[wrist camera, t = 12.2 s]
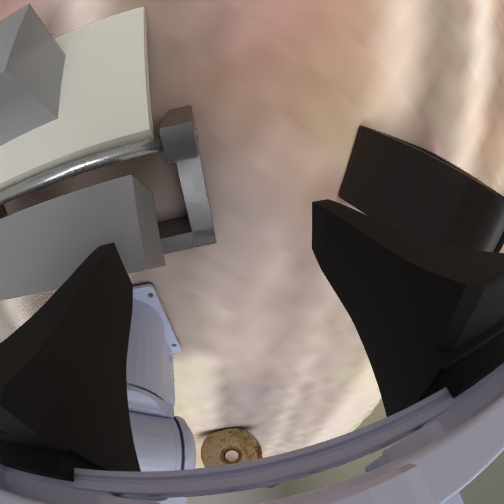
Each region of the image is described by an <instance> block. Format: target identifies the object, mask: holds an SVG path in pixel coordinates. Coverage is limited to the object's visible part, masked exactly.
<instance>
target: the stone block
mask: <svg viewBox="0 0 504 504" xmlns="http://www.w3.org/2000/svg"><path fill="white" fill-rule="evenodd" d="M65 57H66V55H65V54H64V52H63V51H62V49H61V48H60V47H59V45H58V44H57V42H56V41H55V40H54V38H53V37H52V35H51V34H50V33H49V31H48V30H47V28H46V27H45V25H44V24H43V23H42V21H41V20H40V18H39V17H38V15H37V14H36V12H35V11H34V9H33V8H32V6H31V5H30V4H28V5H26V6H25V7H23V8H21V9H20V10H18V11H16V12H15V13H13V14H11V15H10V16H8V17H7V18H5V19H4V20H2V21H0V146H2V145H3V144H5V143H7V142H9V141H11V140H13V139H15V138H17V137H19V136H21V135H23V134H25V133H27V132H29V131H31V130H33V129H35V128H37V127H40V126H42V125H44V124H46V123H49V122H51V121H53V120H56V119H58V112H59V101H60V91H61V83H62V76H63V69H64V63H65Z"/></svg>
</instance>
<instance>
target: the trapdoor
mask: <svg viewBox="0 0 504 504" xmlns="http://www.w3.org/2000/svg"><path fill="white" fill-rule="evenodd" d="M54 40H55V41H56V42H57V44H58V45H59V47H60V48H61V49H62V51H63V52H64V54H65V55H66V57H65V63H64V69H63V76H62V83H61V91H60V101H59V112H58V119H56V120H53V121H51V122H49V123H46V124H44V125H42V126H40V127H37V128H35V129H33V130H31V131H29V132H27V133H25V134H23V135H21V136H19V137H17V138H15V139H13V140H11V141H9V142H7V143H5V144H3V145H2V146H0V192H1V191H3V190H5V189H7V188H9V187H11V186H14V185H16V184H18V183H20V182H22V181H25V180H27V179H29V178H32V177H34V176H36V175H39V174H41V173H44V172H46V171H49V170H51V169H54V168H57V167H59V166H62V165H64V164H67V163H70V162H73V161H76V160H78V159H81V158H84V157H87V156H90V155H93V154H96V153H99V152H103V151H106V150H109V149H112V148H116V147H119V146H123V145H126V144H130V143H133V142H137V141H141V140H145V139H149V138H153V137H154V131H153V121H152V111H151V100H150V88H149V73H148V54H147V21H146V13H145V10H144V7H140V8H136V9H133V10H129V11H126V12H122V13H119V14H116V15H113V16H110V17H107V18H104V19H101V20H98V21H95V22H93V23H90V24H87V25H85V26H82V27H80V28H77V29H75V30H73V31H70V32H68V33H66V34H63V35H61V36H59V37H57V38H55V39H54ZM109 243H115V246H116V248H117V251H118V253H119V255H120V258H121V260H122V263H123V265H124V267H125V269H126V272H127V274H128V273H132V272H137V271H142V270H147V269H151V268H156V267H161V266H165V261H164V256H163V251H162V245H161V240H160V235H159V229H158V223H157V217H156V211H155V205H154V199H153V193H152V192H151V191H149V190H148V189H147V188H146V187H145V186H144V185H143V184H142V183H141V182H140V181H139V180H138V179H136V178H135V177H134V176H133V175H132V174H131V175H127V176H124V177H120V178H116V179H113V180H109V181H106V182H103V183H99V184H96V185H93V186H89V187H86V188H83V189H80V190H77V191H74V192H71V193H68V194H65V195H62V196H59V197H56V198H53V199H50V200H47V201H45V202H42V203H39V204H37V205H34V206H31V207H29V208H26V209H24V210H21V211H19V212H16V213H14V214H11V215H9V216H6V217H4V218H2V219H0V300H5V299H10V298H15V297H19V296H24V295H29V294H33V293H38V292H43V291H47V290H52V289H57V288H60V287H61V286H62V285H63V284H64V282H65V281H66V280H67V279H68V278H69V277H70V276H71V275H72V274H73V272H74V271H75V270H76V269H77V268H78V267H79V266H80V265H81V264H82V262H83V261H84V260H85V259H86V258H87V257H88V256H89V255H90V254H91V253H92V252H93V251H94V250H95V249H96V248H98V247H99V246H101V245H105V244H109Z"/></svg>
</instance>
